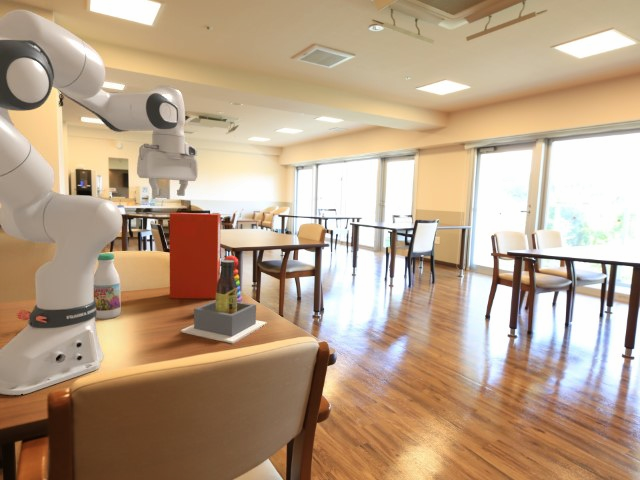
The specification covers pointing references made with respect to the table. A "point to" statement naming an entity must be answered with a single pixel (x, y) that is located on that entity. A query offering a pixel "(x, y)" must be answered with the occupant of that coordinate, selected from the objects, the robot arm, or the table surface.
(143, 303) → the table surface
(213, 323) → the mount collar
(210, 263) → the tall red box
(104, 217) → the robot arm
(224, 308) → the sauce bottle
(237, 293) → the stacking toy
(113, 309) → the milk bottle
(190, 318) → the table surface
